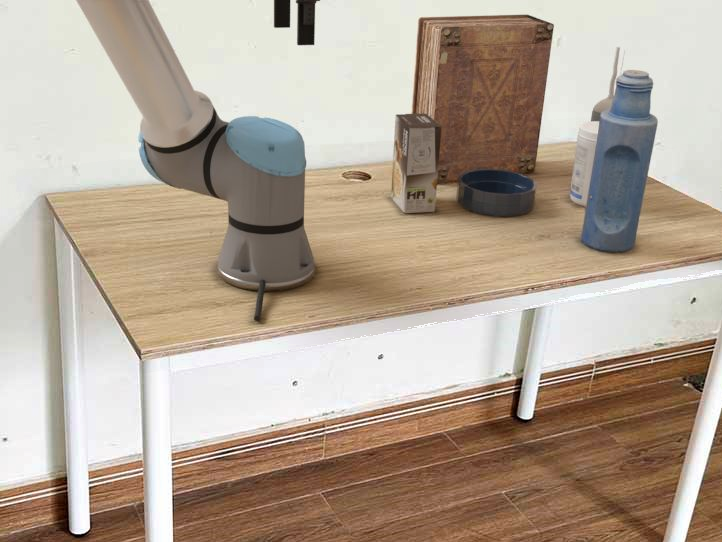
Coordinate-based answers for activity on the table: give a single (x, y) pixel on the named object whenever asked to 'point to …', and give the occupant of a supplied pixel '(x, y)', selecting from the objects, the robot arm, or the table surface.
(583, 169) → the supplement tub
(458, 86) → the book
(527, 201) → the bowl
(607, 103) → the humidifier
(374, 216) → the table surface
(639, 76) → the bottle
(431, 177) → the coffee box
